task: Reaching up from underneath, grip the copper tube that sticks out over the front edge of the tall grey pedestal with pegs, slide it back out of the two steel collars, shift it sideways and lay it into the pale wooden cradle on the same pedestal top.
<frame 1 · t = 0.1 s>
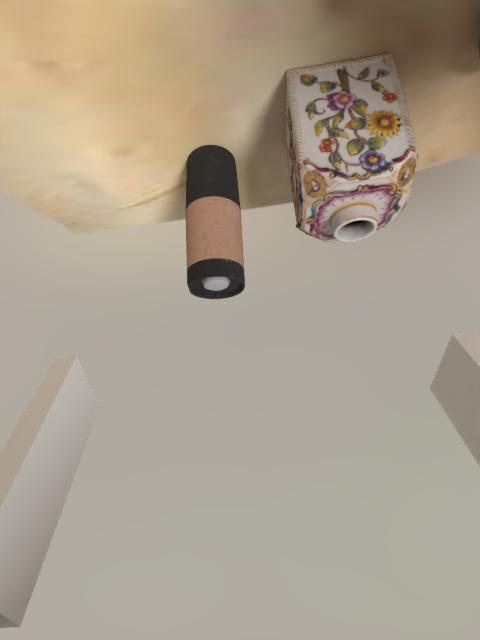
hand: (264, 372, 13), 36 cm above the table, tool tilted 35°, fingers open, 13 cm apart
decorative jar: (332, 103, 43), on the table
travel mug: (211, 162, 51), on the table
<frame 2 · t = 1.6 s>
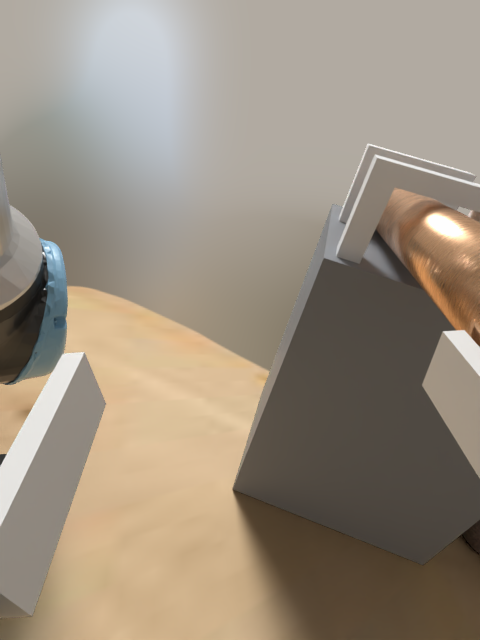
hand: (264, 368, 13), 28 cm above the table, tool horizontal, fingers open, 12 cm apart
grey pedestal with pegs: (328, 463, 43), on the table
copper tube: (402, 262, 22), point 29 cm above the table, tilted 26°, touching gripper, grey pedestal with pegs
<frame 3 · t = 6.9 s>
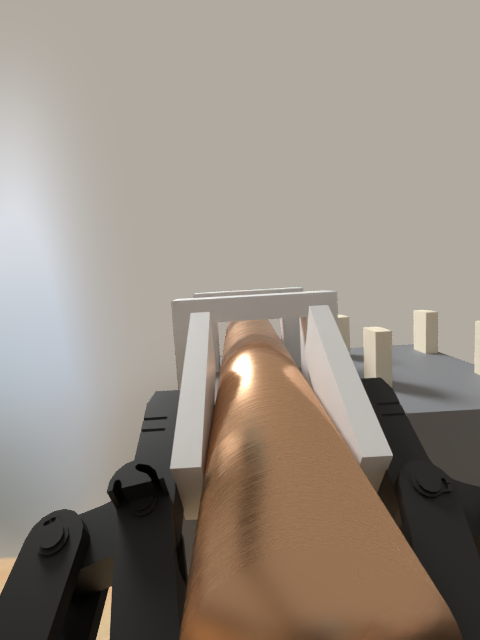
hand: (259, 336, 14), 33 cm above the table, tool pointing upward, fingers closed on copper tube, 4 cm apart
copper tube: (250, 415, 18), point 28 cm above the table, tilted 16°, touching gripper, grey pedestal with pegs
when the fingers open (35 cm above the table, at t = 18.1 s): copper tube drops 2 cm, resting on grey pedestal with pegs.
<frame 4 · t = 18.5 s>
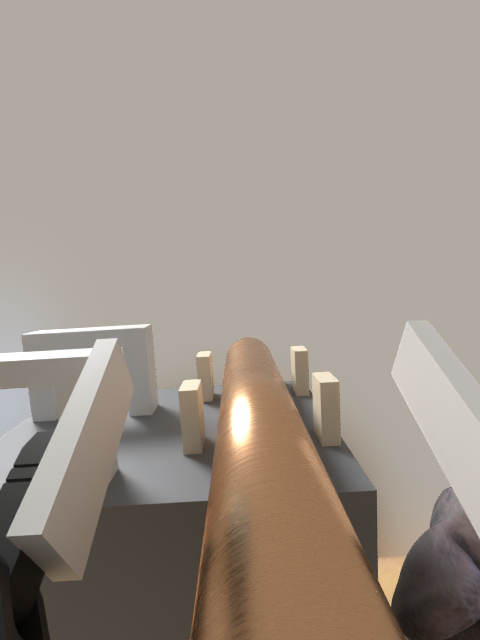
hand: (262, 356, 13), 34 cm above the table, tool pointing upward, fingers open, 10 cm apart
copper tube: (252, 454, 18), point 28 cm above the table, tilted 11°, touching grey pedestal with pegs
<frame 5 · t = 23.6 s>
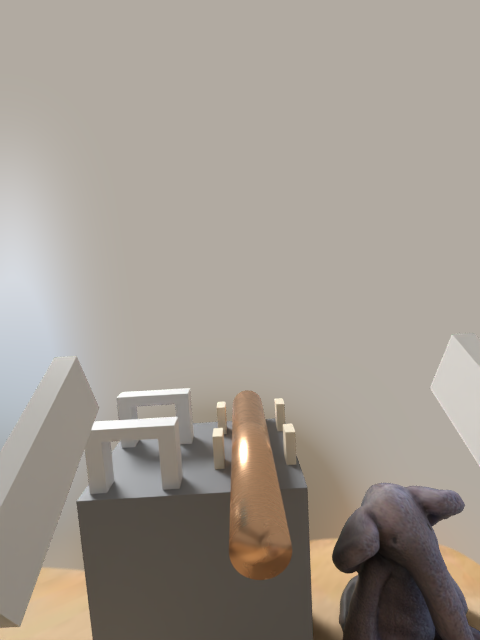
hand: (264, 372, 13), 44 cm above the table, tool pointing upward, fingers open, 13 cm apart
copper tube: (250, 469, 35), point 28 cm above the table, tilted 5°, touching grey pedestal with pegs
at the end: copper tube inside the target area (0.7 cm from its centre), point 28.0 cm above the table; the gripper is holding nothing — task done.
